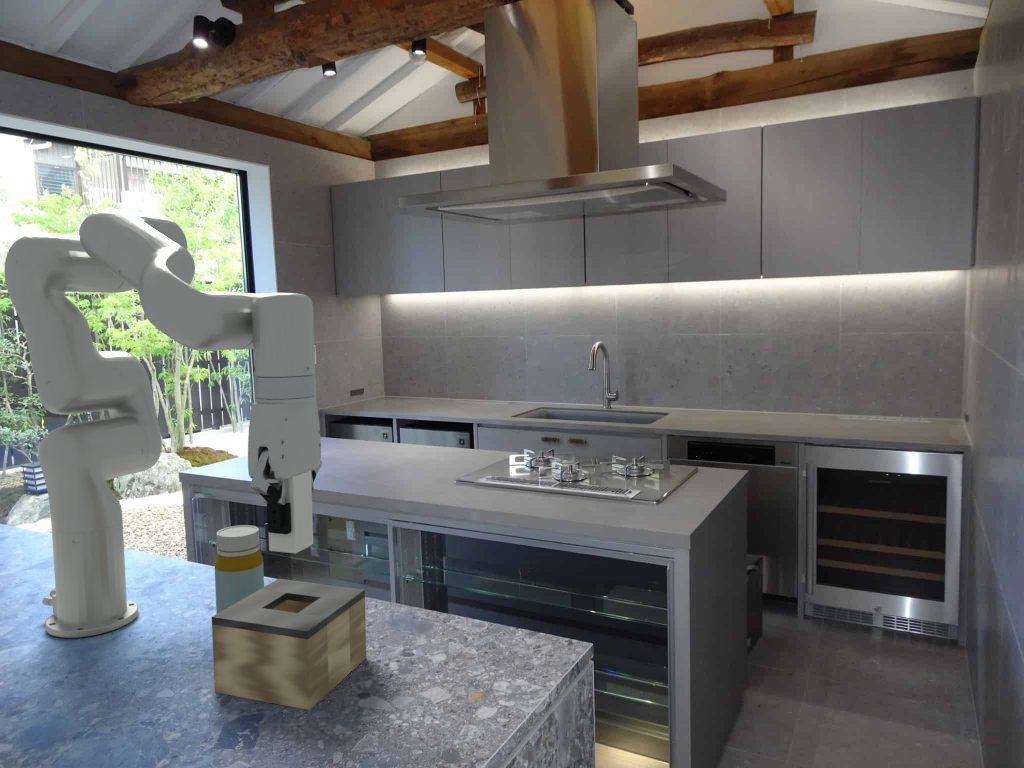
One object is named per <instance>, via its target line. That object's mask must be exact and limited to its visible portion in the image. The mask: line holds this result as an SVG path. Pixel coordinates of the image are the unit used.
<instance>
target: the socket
mask: <svg viewBox="0 0 1024 768" xmlns="http://www.w3.org/2000/svg"><path fill="white" fill-rule="evenodd" d="M366 627H367V626H366V589H363V588H356V587H349V586H339V585H332V584H331V585H330V584H324V583H315V582H308V581H300V580H292V579H285V578H277V579H276V580H273V581H272V582H270V583H268V584H267V585H264V587H263V588H261V589H260V590H258V591H256V592H254V593H253V594H251V595H249V596H247V597H246V598H244V599H242V600H240V601H239V602H237V603H235V604H233V605H232V606H230V607H228V608H226V609H225V610H223V611H221V612H219V613H218V614H217V613H216V614H214V615H212V616H211V632H212V633H211V634H212V656H213V657H212V659H213V682H214V685H213V686H214V693H217V694H222V695H226V696H227V695H229V696H233V697H238V698H243V699H249V700H255V701H259V702H266V703H270V704H276V705H281V706H287V707H291V708H296V709H297V708H298V709H301V710H307V711H311V710H312V709H313V708H314V707H315V706H316V705H318V704H319V703H320V702H321V701H322V700H323V699H324V698H325V697H326V696H327V695H328V694H329V693H330V692H332V691H333V690H334V688H336V687H337V686H338V685H339V684H340V683H341V682H342V681H343V680H344V679H346V678H347V677H348V676H349V675H350V674H351V673H352V672H353V671H355V669H357V667H358V666H360V665H361V664H362V663H363V662H365V660H366V659H367V638H366V637H367V636H366V632H367V631H366V630H367V629H366ZM360 663H361V664H360ZM359 664H360V665H359ZM351 671H352V672H351ZM350 672H351V673H350ZM349 673H350V674H349ZM348 674H349V675H348ZM347 675H348V676H347ZM346 676H347V677H346ZM337 684H338V685H337Z"/></svg>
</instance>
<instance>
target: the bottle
mask: <svg viewBox="0 0 1024 768" xmlns="http://www.w3.org/2000/svg"><path fill="white" fill-rule="evenodd" d="M215 538H216V547H217V549H216V553H217V554H216V557H215V560H214V582H215V583H214V584H215V585H214V587H215V608H216V610H215V611H216V614H218V613H219V612H221V611H223V610H225V609H226V608H228V607H230V606H232V605H233V604H235V603H237V602H239V601H240V600H242V599H244V598H246V597H247V596H249V595H251V594H253V593H254V592H256V591H258V590H260V589H261V588H263V587H265V573H264V557H263V555H262V551H261V550H260V547H261V546H260V529H259V527H258V526H256V525H249V524H248V525H247V524H243V525H242V524H241V525H240V524H239V525H233V526H228V527H227V526H226V527H224V528H221V529H218V530H217V531H216V537H215Z"/></svg>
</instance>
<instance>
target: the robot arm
mask: <svg viewBox="0 0 1024 768" xmlns="http://www.w3.org/2000/svg"><path fill="white" fill-rule="evenodd" d="M78 233H79V234H78V235H73V234H64V233H48V232H46V233H45V232H44V233H34V234H29V235H24V236H22V237H21V238H19V239H17V240H15V241H14V242H13V243H12V244H11V246H10V247H9V248H8V252H7V254H6V258H5V261H4V281H5V285H6V286H5V287H6V290H7V293H8V295H9V299H10V301H11V303H12V306H13V307H14V309H15V311H16V314H17V315H18V318H19V320H20V322H21V324H22V328H23V331H24V334H25V338H26V345H27V349H28V355H29V359H30V363H31V367H32V372H33V378H34V383H35V386H36V391H37V394H38V398H39V400H40V402H41V405H42V406H43V408H44V409H45V410H46V411H48V412H50V413H52V414H54V415H63V416H64V415H77V414H85V413H93V412H94V413H95V412H104V411H108V415H109V418H103V419H101V418H99V419H93V420H85V421H79V422H73V423H66V424H64V425H62V426H58V427H56V428H54V429H52V430H50V431H49V432H48V433H47V434H46V435H45V436H44V437H43V438H42V440H41V442H40V444H39V448H38V461H39V464H40V468H41V472H42V475H43V479H44V482H45V487H46V490H47V494H48V495H47V496H48V503H49V511H50V524H51V525H50V526H51V527H50V528H51V538H52V551H53V552H52V554H53V569H54V570H53V571H54V585H55V588H52V589H51V590H50V592H49V595H48V596H44V597H43V598H42V601H41V602H42V604H43V605H44V606H49V607H52V615H51V616H49V618H47V620H46V622H45V630H46V633H48V634H49V635H50V636H54V637H56V638H57V637H58V638H64V639H65V638H66V639H67V638H68V639H71V638H72V639H73V638H75V639H76V638H85V637H91V636H96V635H100V634H101V635H102V634H106V633H109V632H111V631H114V630H118V629H120V628H122V627H124V626H127V625H128V624H130V623H131V622H133V620H135V619H136V618H137V616H139V606H138V603H136V602H135V601H132V600H129V599H127V583H126V582H127V581H126V564H125V563H126V562H125V561H126V560H125V546H124V545H125V542H124V523H123V521H124V520H123V511H122V504H121V502H120V501H119V499H118V497H117V496H116V494H114V493H113V491H112V490H111V489H110V487H109V486H108V485H107V482H106V481H108V480H109V481H110V480H112V479H115V478H116V479H117V478H121V477H123V476H128V475H133V474H136V473H141V472H144V471H147V470H149V469H151V468H152V467H154V466H155V465H156V464H157V462H158V461H159V459H160V458H161V454H162V448H163V447H162V446H163V445H162V435H161V429H160V425H159V420H158V414H157V409H156V406H155V401H154V395H153V391H152V385H151V382H150V378H149V375H148V373H147V370H146V368H145V367H144V365H143V364H142V362H141V361H140V360H139V359H138V358H137V357H136V356H135V355H133V354H131V353H129V352H127V351H121V350H105V351H98V350H97V349H96V348H95V345H94V343H93V338H92V334H91V328H90V324H89V321H87V318H86V317H85V316H84V313H82V311H81V310H80V309H79V307H78V306H77V305H75V303H74V302H72V300H70V299H69V298H68V297H67V296H66V295H65V293H66V292H76V293H77V292H79V293H103V294H105V293H108V294H110V293H111V294H115V293H116V294H118V293H124V292H128V291H131V290H132V291H133V290H136V291H137V292H138V295H139V301H140V306H141V307H142V311H143V313H144V315H145V317H146V318H147V320H148V321H149V323H150V324H151V326H154V327H155V328H156V329H157V330H158V331H160V332H161V333H163V334H164V335H165V336H167V337H169V339H171V340H173V341H175V342H176V343H178V344H179V345H182V346H183V347H186V348H188V349H191V350H194V351H199V352H210V351H211V352H215V351H229V350H231V351H232V350H237V351H238V350H252V353H253V374H254V375H253V376H254V401H255V402H252V405H251V409H250V415H249V424H248V440H247V469H248V476H249V477H250V478H249V479H251V482H250V487H251V489H252V490H253V491H255V492H257V493H258V494H259V495H260V496H261V497H262V501H263V503H265V504H266V521H267V525H266V526H267V532H268V534H269V533H277V534H289V533H291V508H290V503H286V502H287V494H288V479H290V478H291V477H293V476H296V475H299V474H302V473H304V472H307V471H310V470H311V486H312V493H313V492H314V491H315V488H314V487H315V485H314V482H315V481H316V478H317V474H318V472H319V470H321V468H322V465H323V463H322V460H321V459H322V440H321V439H322V437H321V429H320V428H321V427H320V426H321V425H320V418H319V417H320V416H319V411H318V410H319V409H318V405H317V400H316V399H317V388H316V387H317V386H316V385H317V384H316V382H317V381H316V359H315V358H316V357H315V355H316V354H315V352H316V351H315V329H314V327H315V325H314V324H315V323H314V321H315V320H314V318H315V317H314V304H313V301H312V300H311V298H310V297H309V296H308V295H306V294H304V293H297V292H295V293H294V292H269V293H268V292H267V293H254V292H235V291H215V290H214V291H209V290H208V291H205V290H200V289H198V288H196V287H194V286H192V285H191V283H192V282H193V280H194V277H195V272H196V264H195V260H194V258H193V255H192V254H191V252H190V251H189V250H188V240H187V236H186V234H185V233H184V230H183V229H182V228H181V226H180V225H178V224H177V222H175V221H174V220H173V219H171V218H168V217H167V216H163V215H161V214H160V215H159V214H154V213H153V214H152V213H145V212H141V211H140V212H139V211H132V210H127V209H117V208H105V209H100V210H96V211H95V212H92V213H91V214H89V215H88V216H86V217H85V219H83V221H82V222H81V224H80V227H79V230H78ZM273 474H275V476H274V477H275V478H273ZM273 483H275V484H279V491H278V490H277V489H276V487H275V486H273Z"/></svg>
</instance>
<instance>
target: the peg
mask: <svg viewBox="0 0 1024 768" xmlns="http://www.w3.org/2000/svg"><path fill="white" fill-rule="evenodd" d="M274 476H275V474H273V478H275V477H274ZM273 486H275V487H276V489H277V490H278V491H279V484H275V483H273ZM312 494H313V492H312V486H311V470H310V471H307V472H304V473H302V474H299V475H296V476H293V477H291V478H290V479H288V494H287V502H286V503H290V508H291V533H289V534H277V533H269V532H268V551H270V552H279V553H288V554H298V553H299V552H301V551H303V550H305V549H307V548H309V547H310V546H312V545H314V522H313V521H314V520H313V519H314V518H313V495H312Z"/></svg>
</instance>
